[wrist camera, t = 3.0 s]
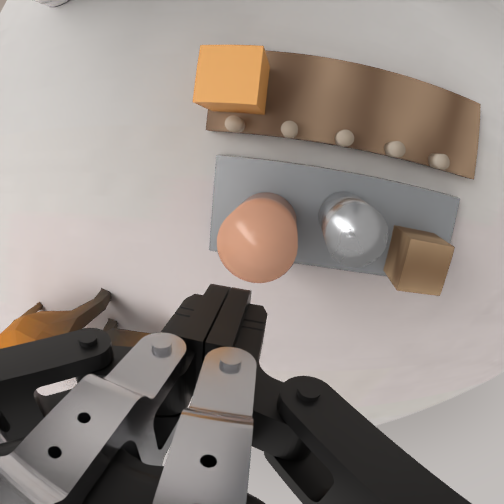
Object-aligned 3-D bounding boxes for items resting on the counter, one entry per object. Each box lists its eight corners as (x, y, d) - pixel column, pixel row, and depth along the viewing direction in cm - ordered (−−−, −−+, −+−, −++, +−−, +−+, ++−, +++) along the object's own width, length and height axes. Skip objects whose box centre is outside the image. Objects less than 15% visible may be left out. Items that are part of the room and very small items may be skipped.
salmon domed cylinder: (238, 188, 23) (219, 200, 18) (301, 196, 23) (303, 211, 17) (232, 248, 25) (214, 276, 19) (292, 256, 25) (291, 288, 19)
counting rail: (210, 132, 23) (198, 129, 20) (220, 54, 21) (209, 42, 18) (465, 178, 21) (484, 183, 18) (472, 105, 19) (491, 102, 16)
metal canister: (322, 187, 22) (331, 198, 17) (370, 195, 22) (394, 210, 16) (314, 236, 24) (320, 262, 18) (361, 243, 23) (380, 271, 18)
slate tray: (220, 155, 24) (216, 155, 23) (453, 196, 22) (459, 198, 21) (212, 246, 27) (209, 250, 25) (433, 278, 25) (438, 283, 23)
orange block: (212, 111, 21) (192, 101, 17) (218, 64, 20) (200, 45, 15) (264, 114, 21) (256, 104, 16) (270, 66, 19) (263, 45, 15)
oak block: (394, 225, 22) (410, 238, 19) (433, 233, 22) (454, 247, 18) (383, 270, 24) (396, 290, 20) (422, 275, 23) (439, 295, 20)
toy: (12, 300, 34) (-53, 347, 20) (148, 259, 28) (46, 344, 14) (43, 359, 37) (-10, 413, 23) (188, 350, 31) (132, 458, 17)
